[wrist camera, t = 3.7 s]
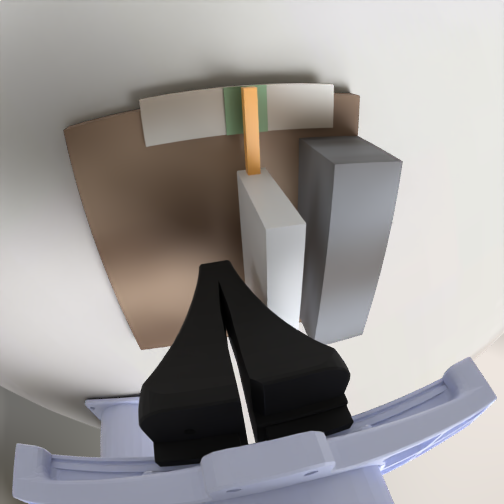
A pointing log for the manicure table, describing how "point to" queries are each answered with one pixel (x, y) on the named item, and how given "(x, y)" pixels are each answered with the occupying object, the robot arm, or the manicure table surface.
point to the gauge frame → (234, 200)
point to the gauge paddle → (268, 227)
